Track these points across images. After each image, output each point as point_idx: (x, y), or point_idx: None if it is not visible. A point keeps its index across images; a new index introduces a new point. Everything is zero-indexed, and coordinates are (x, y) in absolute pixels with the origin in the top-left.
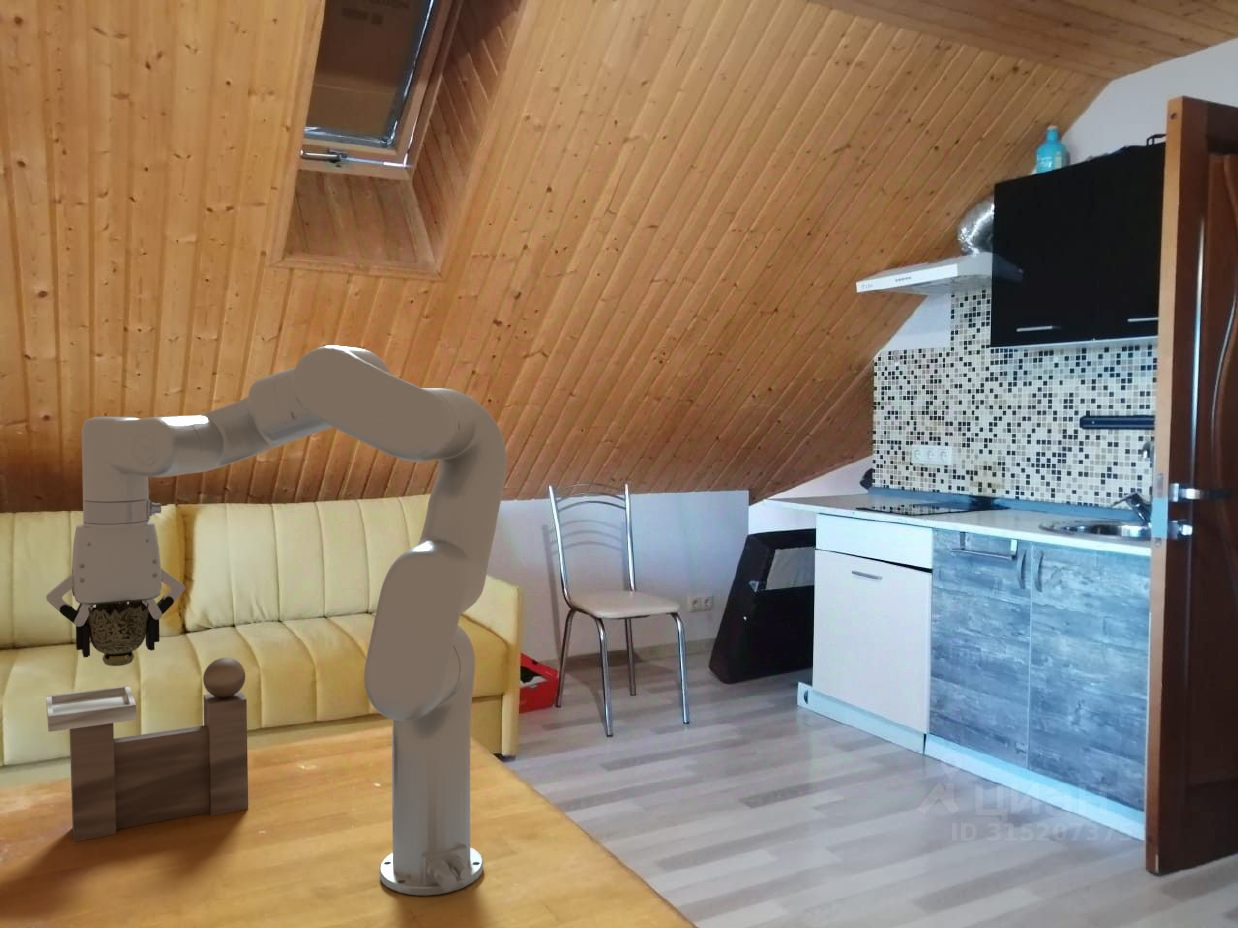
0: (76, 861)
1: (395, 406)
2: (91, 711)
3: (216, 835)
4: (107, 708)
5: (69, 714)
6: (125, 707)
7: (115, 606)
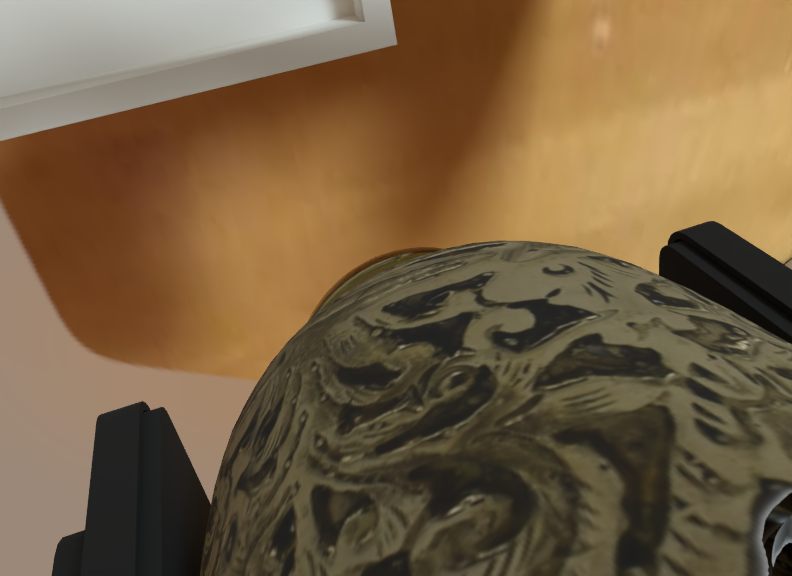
0: None
1: None
2: (152, 101)
3: (492, 18)
4: (240, 77)
5: (27, 133)
6: (337, 56)
7: (651, 508)
